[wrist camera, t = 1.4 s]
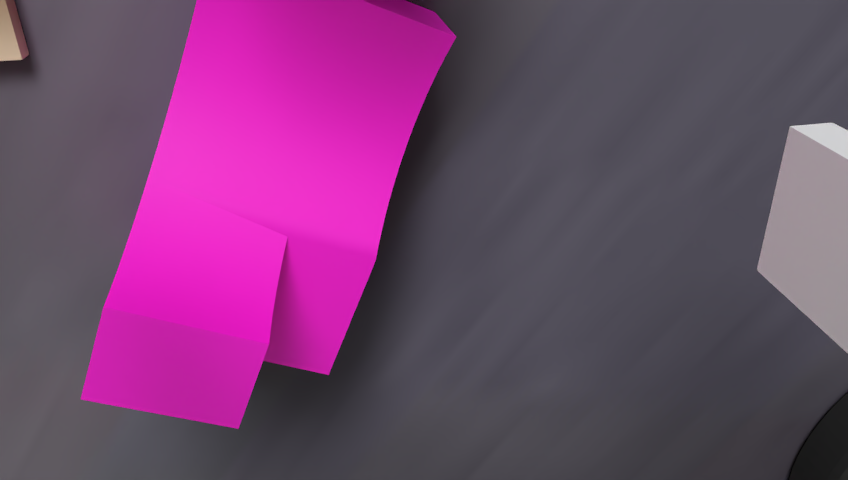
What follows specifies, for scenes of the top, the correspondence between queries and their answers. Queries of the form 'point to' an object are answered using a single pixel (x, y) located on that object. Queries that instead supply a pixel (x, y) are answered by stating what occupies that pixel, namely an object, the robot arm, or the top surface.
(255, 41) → the toy block
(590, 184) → the top surface
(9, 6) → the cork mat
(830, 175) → the robot arm
